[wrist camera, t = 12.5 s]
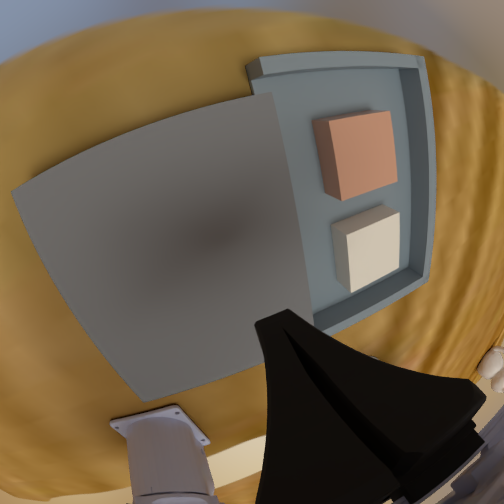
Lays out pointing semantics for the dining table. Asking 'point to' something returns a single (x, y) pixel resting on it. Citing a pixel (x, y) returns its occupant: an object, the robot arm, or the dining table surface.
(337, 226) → the cream tile
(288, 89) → the tray
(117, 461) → the dining table surface
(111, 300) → the plate
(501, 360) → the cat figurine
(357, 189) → the terracotta tile
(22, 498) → the dining table surface
